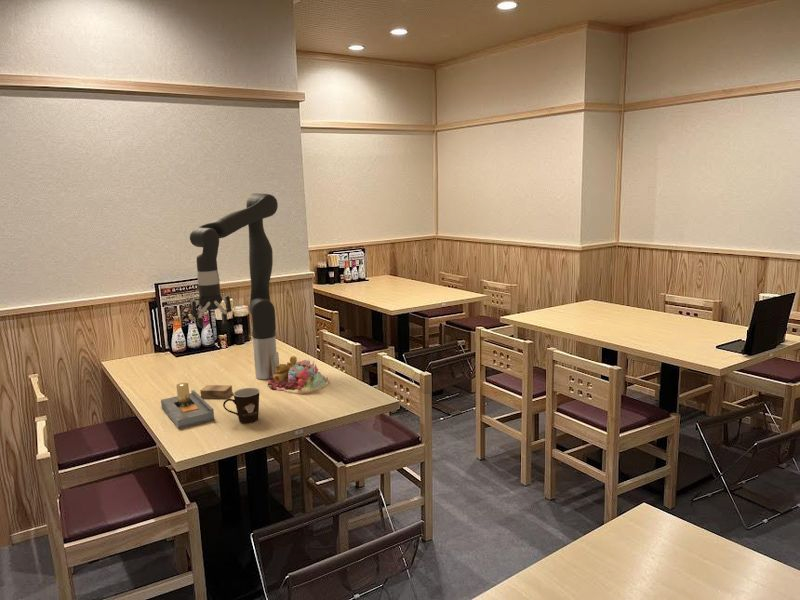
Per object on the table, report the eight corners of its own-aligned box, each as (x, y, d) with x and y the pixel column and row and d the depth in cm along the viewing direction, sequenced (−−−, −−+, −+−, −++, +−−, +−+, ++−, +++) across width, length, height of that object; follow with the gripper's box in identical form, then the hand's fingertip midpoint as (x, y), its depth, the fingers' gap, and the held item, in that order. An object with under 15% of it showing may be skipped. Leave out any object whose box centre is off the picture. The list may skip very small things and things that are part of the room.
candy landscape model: (256, 388, 239) (254, 366, 237) (293, 371, 259) (291, 350, 257) (308, 397, 227) (306, 373, 225) (342, 378, 248) (340, 356, 246)
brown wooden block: (232, 392, 233) (231, 385, 233) (226, 398, 228) (225, 390, 227) (207, 392, 235) (207, 385, 234) (201, 397, 229) (200, 390, 228)
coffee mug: (263, 414, 211) (261, 387, 209) (259, 424, 202) (256, 396, 200) (230, 416, 210) (227, 388, 208) (224, 426, 202) (221, 397, 200)
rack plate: (214, 420, 207) (213, 409, 206) (178, 428, 201) (177, 417, 200) (194, 400, 227) (193, 390, 226) (161, 407, 220) (160, 397, 219)
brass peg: (192, 408, 218) (190, 382, 216) (187, 413, 214) (185, 386, 212) (182, 408, 219) (179, 382, 217) (177, 412, 215) (174, 386, 213)
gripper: (224, 279, 227) (228, 320, 230) (186, 283, 219) (190, 326, 223) (231, 281, 221) (235, 324, 224) (191, 286, 213) (196, 330, 216)
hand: (212, 325), depth 223 cm, fingers open, 8 cm apart
